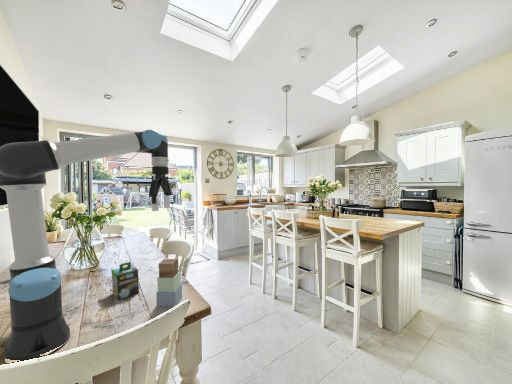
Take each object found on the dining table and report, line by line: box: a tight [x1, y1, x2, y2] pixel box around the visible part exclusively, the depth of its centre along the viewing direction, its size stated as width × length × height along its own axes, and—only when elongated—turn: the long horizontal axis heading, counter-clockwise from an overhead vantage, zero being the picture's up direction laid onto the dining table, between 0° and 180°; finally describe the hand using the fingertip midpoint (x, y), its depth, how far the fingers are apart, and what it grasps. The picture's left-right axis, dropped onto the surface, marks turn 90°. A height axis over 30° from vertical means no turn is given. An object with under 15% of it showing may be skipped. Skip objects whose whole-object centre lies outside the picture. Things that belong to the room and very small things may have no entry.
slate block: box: [155, 283, 183, 308], centre depth 99 cm, size 8×8×6 cm
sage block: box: [157, 271, 182, 292], centre depth 98 cm, size 7×7×6 cm
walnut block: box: [158, 258, 180, 278], centre depth 98 cm, size 6×6×6 cm
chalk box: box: [111, 261, 140, 301], centre depth 107 cm, size 9×9×15 cm
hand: (161, 209), depth 112 cm, fingers open, 13 cm apart
